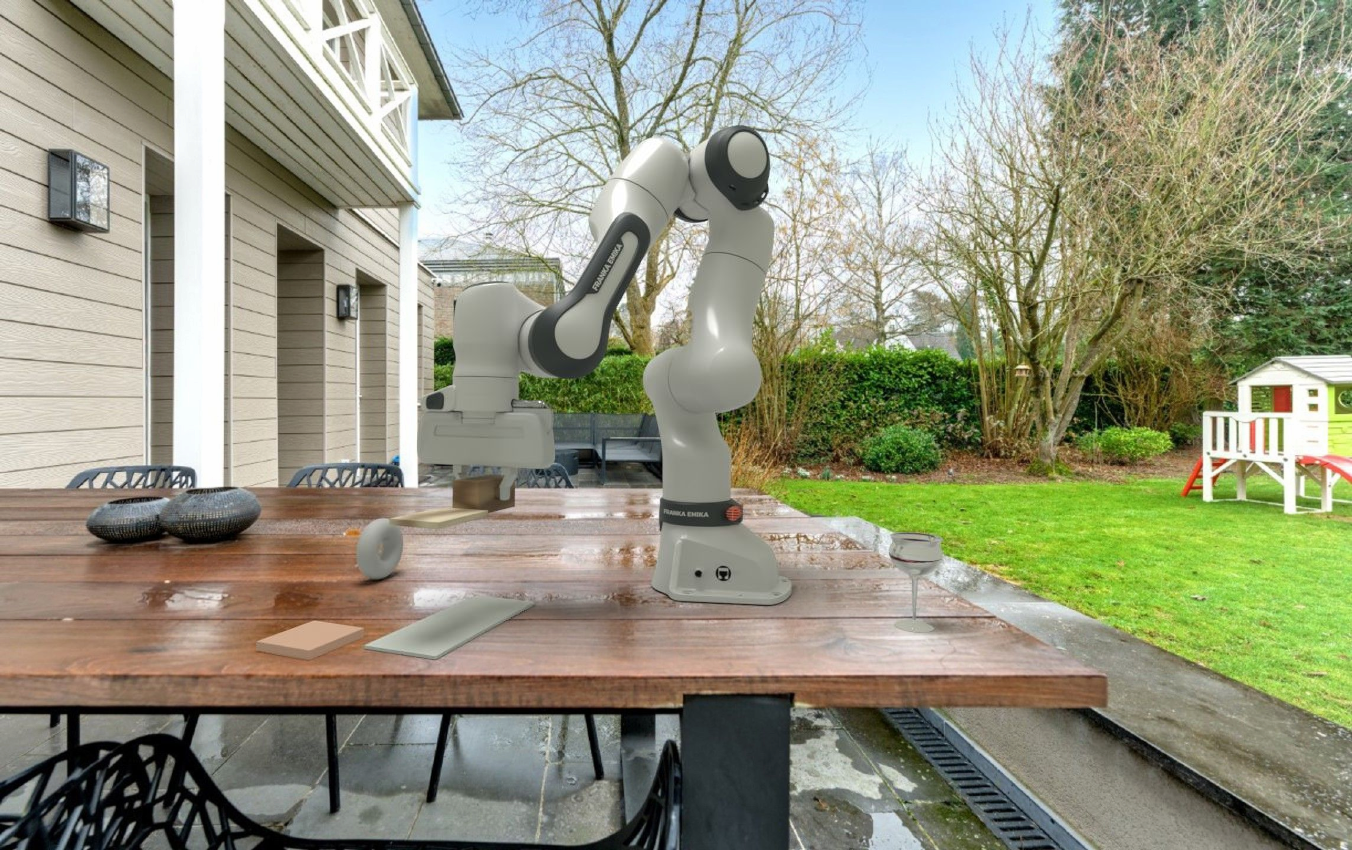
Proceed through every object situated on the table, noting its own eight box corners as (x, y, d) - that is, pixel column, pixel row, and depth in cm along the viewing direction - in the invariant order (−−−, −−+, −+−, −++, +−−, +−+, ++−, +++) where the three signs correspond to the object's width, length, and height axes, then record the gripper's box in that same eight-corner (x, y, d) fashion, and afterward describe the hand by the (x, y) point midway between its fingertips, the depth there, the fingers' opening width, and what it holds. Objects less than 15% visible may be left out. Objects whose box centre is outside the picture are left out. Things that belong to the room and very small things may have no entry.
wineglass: (943, 637, 84) (945, 543, 83) (887, 631, 86) (889, 539, 85) (938, 621, 90) (940, 533, 90) (886, 615, 92) (888, 530, 92)
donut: (370, 587, 103) (370, 524, 103) (351, 586, 104) (351, 523, 104) (407, 571, 113) (407, 514, 113) (389, 570, 114) (389, 513, 113)
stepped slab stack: (523, 507, 95) (524, 476, 95) (438, 529, 77) (439, 490, 77) (482, 504, 97) (482, 473, 97) (389, 525, 79) (389, 487, 79)
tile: (364, 628, 81) (309, 650, 74) (364, 640, 81) (309, 664, 74) (314, 620, 84) (256, 641, 76) (314, 632, 84) (256, 655, 76)
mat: (534, 604, 95) (534, 602, 95) (435, 659, 74) (435, 656, 74) (475, 597, 98) (475, 595, 98) (364, 648, 77) (364, 645, 77)
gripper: (564, 400, 91) (562, 500, 91) (439, 398, 97) (438, 492, 98) (541, 399, 85) (540, 506, 85) (410, 397, 91) (409, 497, 92)
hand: (484, 498), depth 91 cm, fingers closed on stepped slab stack, 4 cm apart
